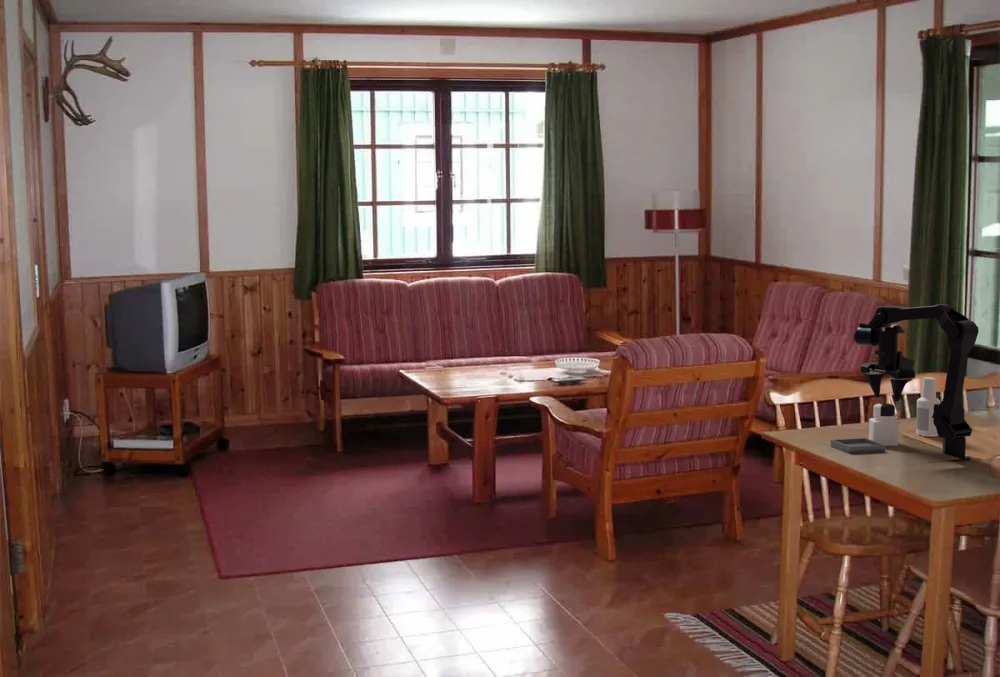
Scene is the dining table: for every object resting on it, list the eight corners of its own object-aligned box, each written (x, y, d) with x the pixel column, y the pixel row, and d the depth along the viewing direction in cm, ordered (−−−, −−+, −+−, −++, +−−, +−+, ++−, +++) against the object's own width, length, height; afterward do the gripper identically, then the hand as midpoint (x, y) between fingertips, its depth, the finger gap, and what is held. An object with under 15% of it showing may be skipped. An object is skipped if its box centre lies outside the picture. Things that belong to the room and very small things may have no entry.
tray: (885, 451, 344) (885, 444, 344) (849, 453, 341) (849, 446, 341) (865, 444, 355) (865, 437, 354) (830, 446, 352) (830, 439, 352)
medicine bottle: (892, 441, 359) (893, 402, 358) (898, 446, 352) (899, 406, 351) (868, 441, 360) (869, 402, 358) (873, 445, 353) (874, 405, 351)
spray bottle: (919, 433, 372) (921, 375, 370) (942, 435, 368) (943, 377, 366) (913, 436, 366) (914, 378, 365) (936, 438, 363) (937, 380, 361)
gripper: (931, 349, 350) (929, 401, 352) (890, 343, 368) (889, 393, 369) (899, 351, 347) (898, 404, 348) (859, 345, 364) (859, 395, 366)
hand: (887, 399), depth 358 cm, fingers open, 9 cm apart
